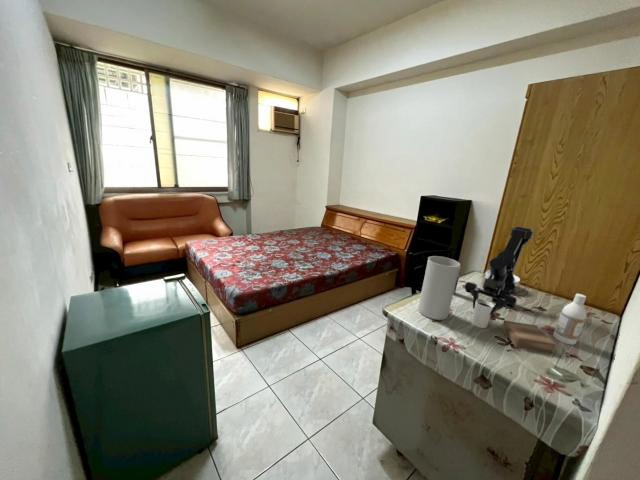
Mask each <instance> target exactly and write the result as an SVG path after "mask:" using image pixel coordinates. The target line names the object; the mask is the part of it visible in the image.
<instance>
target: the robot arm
mask: <svg viewBox="0 0 640 480" xmlns="http://www.w3.org/2000/svg"><path fill="white" fill-rule="evenodd" d="M532 230H533V229H532V228H527V227H522V226H516V227H511V230H510V233H509V236H510V238H509V239H508V242H507V244H506V246H505V247H504V250H502V251H500V252H498V253H497V255H496V256H495V257H493V258H492V259H491V260H490V261H489V270H490V272H491V274H490V276H489V278H488V279H487V278H484V281H483V283H482V288H480V287H478V284H476V283H473V282H471V281H467V282H466V283H465V285H464V288H465V292H467V293H468V294H470V295H471V296H473V299H472V301H473V303H472V309H473V310H474V307H475V302H476V300H478V299H479V298H480V297H479V294H481V295H484V296H487V297H490V298H492V299H491V303H495V304H494V308H493V310H492V311H491V313H490V315H491V316H493V314H495V313H496V312H497V311H499V310H501V309H502V308H510V309H515V308H516V305H517V301H518V299H517V297H515V296H514V295H515V293H516V288H517V287H516V286H515V283H514V282H515V278H514V275H515V274H514V273H515V270H516V268H517V264H518V262H519V259H520V256H521V254H522V252H523V251H522V250H523V248H524V246H526V245H527V244H529V243H530V241H531V240H532V239H533V237H534V234H535V232H534V231H532ZM512 295H513V296H512Z"/></svg>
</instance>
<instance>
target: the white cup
mask: <svg viewBox="0 0 640 480" xmlns="http://www.w3.org/2000/svg"><path fill="white" fill-rule="evenodd" d="M494 306H495V304H493V302H492V301H491V302H490V301H488V300H485V299H479V298H478V300H476V302H475V307H474V309H473V312H472V313H473V314H472V315H471V316H472V317H471V323H472V325H474V326H475V327H477V328H482V329H485V328H487V327H488V324H489V322H490V319H491V317H492V315H490V313H491V311H492V310H493V308H494Z"/></svg>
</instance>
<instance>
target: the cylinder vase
mask: <svg viewBox="0 0 640 480" xmlns="http://www.w3.org/2000/svg"><path fill="white" fill-rule="evenodd" d="M460 267H461V263H460V262H459V261H457V260H455V259H453V258H449V257H445V256H438V255H432V256H428V257H427V264H426V268H425V272H424V273H425V274H424V277H423V278H424V279H423V283H422V287H421V293H420V297H419V303H418V308H417V309H418V311H419V312H420V313H421V314H422V315H423V316H425V317H426V318H428V319H432V320H435V321H436V320H437V321H443V320H446V319H448V316H449V313H450V309H451V305H452V301H453V296H454V295H453V293H454V288H455V284H456V280H457V276H458V272H459V268H460Z"/></svg>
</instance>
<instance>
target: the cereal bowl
mask: <svg viewBox="0 0 640 480" xmlns="http://www.w3.org/2000/svg"><path fill="white" fill-rule="evenodd" d="M490 274H491V272H490V269H487V270H486V271H485V278H487V279H488V278H489V276H490ZM513 275H514V278H515V282H514V283H515V286H516V288H517V287H518V286H519V284H520V282H521V278H520V277H519V276H517V275H515V274H513ZM485 278H484V279H485Z"/></svg>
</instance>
